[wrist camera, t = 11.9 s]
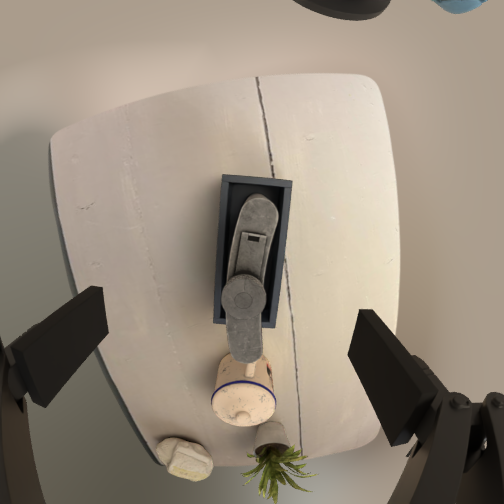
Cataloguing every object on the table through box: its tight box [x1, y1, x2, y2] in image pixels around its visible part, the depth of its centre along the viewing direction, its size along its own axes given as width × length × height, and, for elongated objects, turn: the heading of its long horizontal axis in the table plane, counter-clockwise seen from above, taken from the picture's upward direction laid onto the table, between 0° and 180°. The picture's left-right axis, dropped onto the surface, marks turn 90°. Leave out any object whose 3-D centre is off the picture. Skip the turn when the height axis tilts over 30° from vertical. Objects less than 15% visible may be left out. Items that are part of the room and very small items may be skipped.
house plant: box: [243, 422, 316, 504], centre depth 39 cm, size 14×14×16 cm
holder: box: [213, 174, 292, 328], centre depth 35 cm, size 18×8×7 cm, turn 175°
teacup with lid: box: [211, 354, 276, 426], centre depth 37 cm, size 12×9×12 cm
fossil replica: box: [156, 437, 213, 482], centre depth 44 cm, size 12×8×10 cm
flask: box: [221, 193, 278, 364], centre depth 28 cm, size 4×14×18 cm, turn 175°
